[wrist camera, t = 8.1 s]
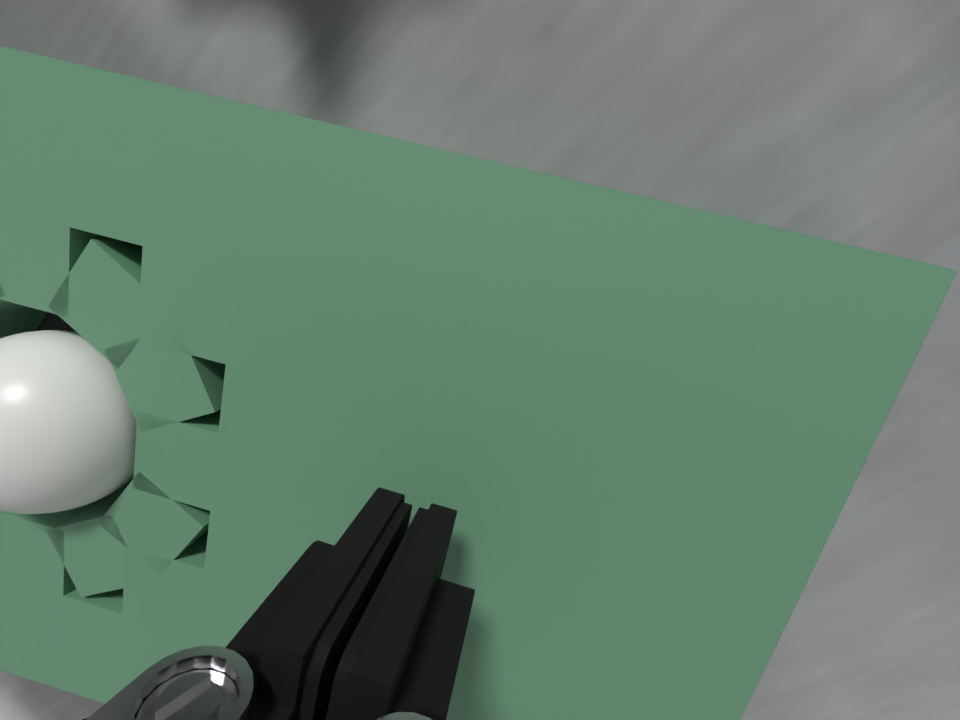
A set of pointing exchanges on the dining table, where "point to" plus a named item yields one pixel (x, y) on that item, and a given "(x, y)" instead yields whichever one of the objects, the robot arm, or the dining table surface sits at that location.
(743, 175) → the dining table surface
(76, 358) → the ball
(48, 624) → the green flat slab
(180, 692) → the robot arm
